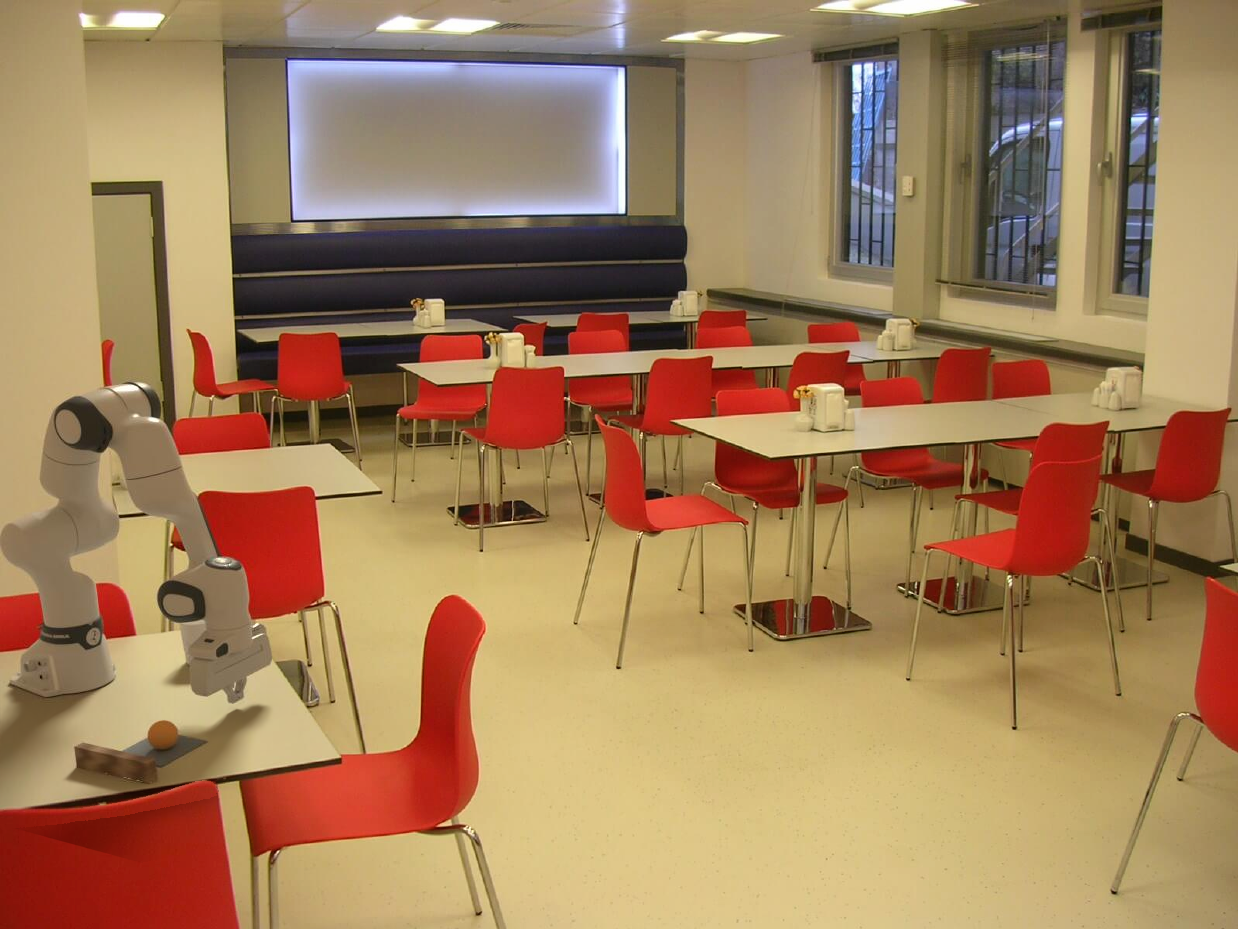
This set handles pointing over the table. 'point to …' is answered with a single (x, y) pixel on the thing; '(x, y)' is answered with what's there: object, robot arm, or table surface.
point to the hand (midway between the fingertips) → (235, 700)
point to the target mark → (167, 755)
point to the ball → (162, 735)
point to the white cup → (191, 635)
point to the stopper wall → (115, 762)
